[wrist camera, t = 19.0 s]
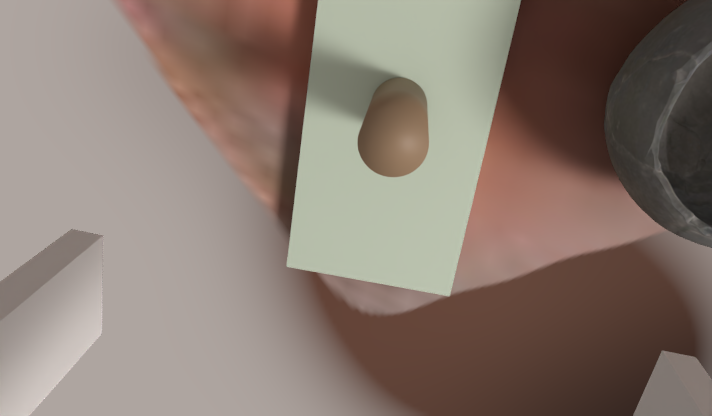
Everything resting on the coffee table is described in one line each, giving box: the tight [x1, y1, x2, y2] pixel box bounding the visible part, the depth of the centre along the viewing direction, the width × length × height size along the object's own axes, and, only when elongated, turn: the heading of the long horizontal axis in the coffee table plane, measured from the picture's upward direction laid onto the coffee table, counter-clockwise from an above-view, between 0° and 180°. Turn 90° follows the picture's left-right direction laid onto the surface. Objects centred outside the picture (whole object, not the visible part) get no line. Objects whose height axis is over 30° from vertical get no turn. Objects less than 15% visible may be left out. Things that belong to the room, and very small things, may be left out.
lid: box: [287, 0, 521, 296], centre depth 35 cm, size 12×26×11 cm, turn 171°
